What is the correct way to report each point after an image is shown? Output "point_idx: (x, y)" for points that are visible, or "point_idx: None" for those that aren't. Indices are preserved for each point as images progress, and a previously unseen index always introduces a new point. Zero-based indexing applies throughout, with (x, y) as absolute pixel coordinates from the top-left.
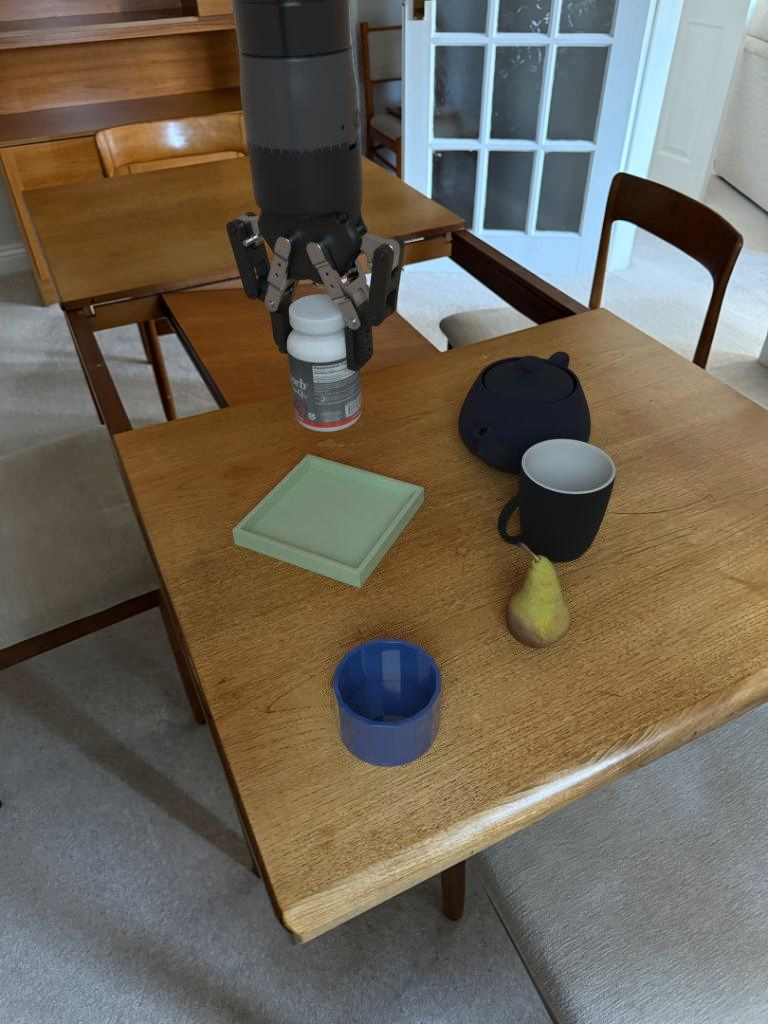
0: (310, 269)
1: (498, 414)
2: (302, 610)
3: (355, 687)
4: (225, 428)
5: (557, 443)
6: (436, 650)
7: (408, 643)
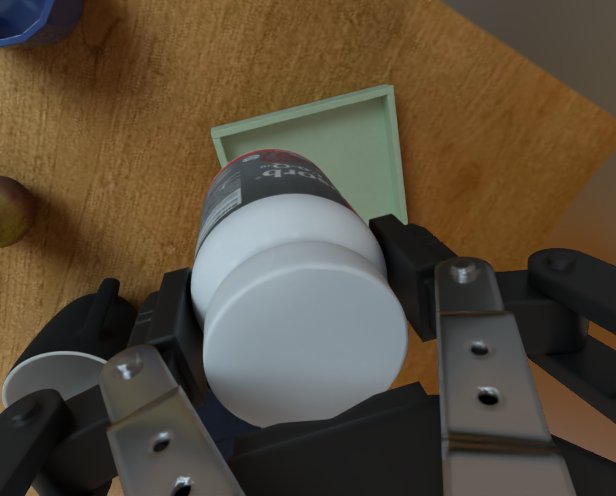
0: (326, 468)
1: (233, 415)
2: (236, 53)
3: None
4: (530, 225)
5: None
6: (68, 110)
7: (11, 42)
